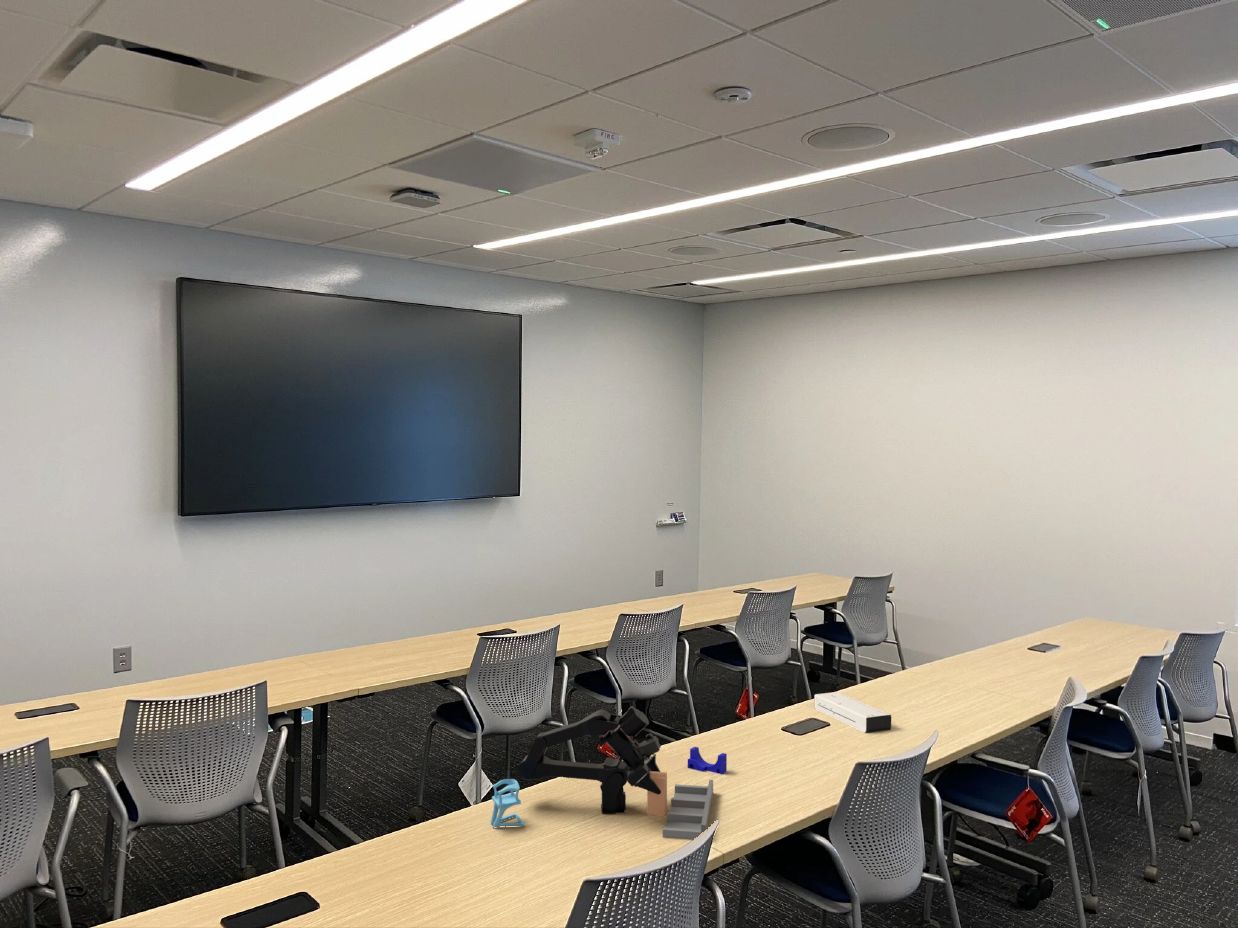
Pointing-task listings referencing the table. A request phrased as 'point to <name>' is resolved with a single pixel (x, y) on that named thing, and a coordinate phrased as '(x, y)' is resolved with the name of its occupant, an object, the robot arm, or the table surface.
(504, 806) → the chair
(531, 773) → the robot arm
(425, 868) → the table surface
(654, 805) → the terracotta block
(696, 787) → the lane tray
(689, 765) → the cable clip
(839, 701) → the laminator
